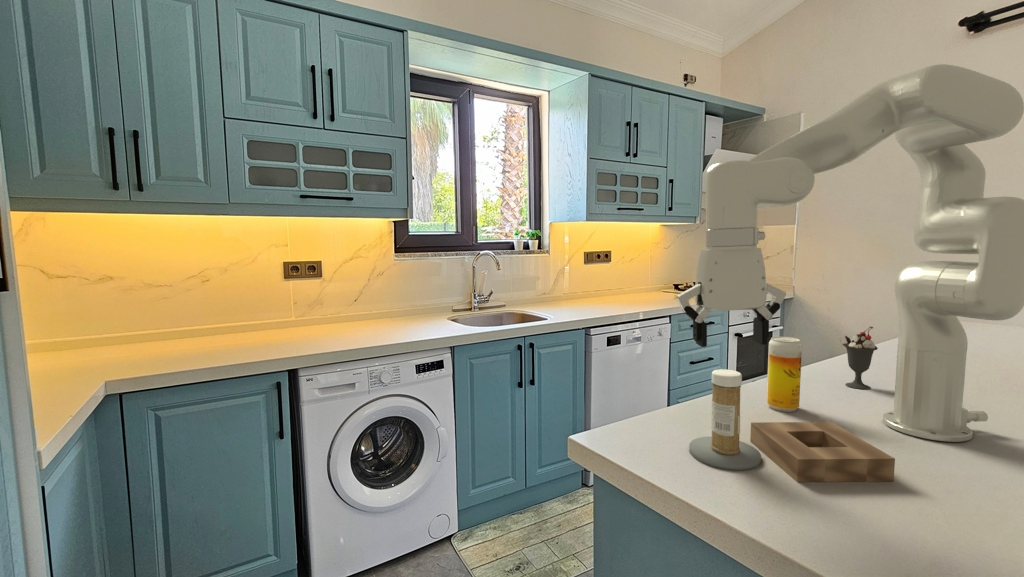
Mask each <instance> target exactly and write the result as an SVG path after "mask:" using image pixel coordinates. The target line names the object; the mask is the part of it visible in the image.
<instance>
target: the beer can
mask: <svg viewBox="0 0 1024 577" xmlns="http://www.w3.org/2000/svg"><path fill="white" fill-rule="evenodd" d="M802 350H803V345H802V342H801V340H800V339H799V338H796V337H791V336H772V337H771V338H770V340H769V342H768V358H767V378H766V380H767V383H766V384H767V385H766V403H767V404H768V407H769V408H770V409H772V410H775V411H780V412H785V413H787V412H788V413H791V412H792V413H793V412H795V411H796V410H797V409H799V408H800V399H801V398H800V397H801V379H802V377H801V376H802V373H801V372H802V356H803V351H802Z"/></svg>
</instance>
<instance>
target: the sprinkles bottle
mask: <svg viewBox="0 0 1024 577" xmlns="http://www.w3.org/2000/svg"><path fill="white" fill-rule="evenodd" d="M742 384H743V375H742V373H741V372H739V371H737V370H731V369H720V368H719V369H714V370H713V371H712V372H711V385H712V394H711V395H712V397H711V398H712V399H711V436H712V443H711V448H712V449H713V450H714V451H716V452H718V453H721V454H726V455H733V454H737V453H739V451H740V447H739V441H740V433H741V388H742Z"/></svg>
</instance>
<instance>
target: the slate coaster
mask: <svg viewBox="0 0 1024 577" xmlns="http://www.w3.org/2000/svg"><path fill="white" fill-rule="evenodd" d="M711 443H712V435H711V436H700V437H697V438H694V439H693V440H691V441H690V442H689V444H688V445H689V446H688V448H689V449H688V450H689V451H688V452H689V453H690V455H691V456H692V457H693V458H694V459H696V460H697V461H698V462H701V463H702V464H705V465H707V466H711V467H714V468H717V469H721V470H728V471H747V470H753V469H755V468H757V467H759V466H760V465H761V463H762V454H761V452H760V450H758V448H757V449H756V448H755V447H754V446H752V444H751V445H750V444H749V443H747V442H744V441H741V440H739V447H740V451H739V453H737V454H733V455H726V454H721V453H718V452H716V451H714V450H713V449H712V448H711Z"/></svg>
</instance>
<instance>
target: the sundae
mask: <svg viewBox="0 0 1024 577" xmlns="http://www.w3.org/2000/svg"><path fill="white" fill-rule="evenodd" d="M871 329H874V326H869V327H868V328H867V329H866V330H864V331H860V332H859V334H858V333H857V334H854V335H853V336H852V337H851V338H850V337H848V335H845V336H844V338H845V340H846V343H842V346H843V347H845V348H846V354H847V362H848V367H849V368H850V369H851V370H852V371H853V372H854V374H855V375H854V380H853V381H852V382H846V383H845V386H846V387H847V388H851V389H857V390H870V389H871V385H870V386H869V385H867V384H865V383H863V381H862V374H863V373H865V372H866V371H868V370H869V369H870V366H871V363H872V358H873V354H874V352H875V351H876V350H877V351H878V347H877V346H876V345H875V343H874V341H873V340H872V336H871V335H870V334H869V332H870V331H871ZM866 331H867V334H866Z"/></svg>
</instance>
